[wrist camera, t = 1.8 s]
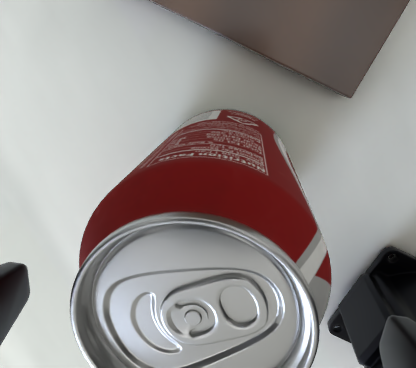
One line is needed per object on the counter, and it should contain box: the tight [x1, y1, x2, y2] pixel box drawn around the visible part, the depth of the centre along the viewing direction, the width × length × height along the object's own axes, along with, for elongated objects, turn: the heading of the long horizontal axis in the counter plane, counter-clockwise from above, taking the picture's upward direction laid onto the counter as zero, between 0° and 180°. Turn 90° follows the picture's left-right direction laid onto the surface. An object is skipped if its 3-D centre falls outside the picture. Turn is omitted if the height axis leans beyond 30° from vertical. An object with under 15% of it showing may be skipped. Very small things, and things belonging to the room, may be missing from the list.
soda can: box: [70, 109, 331, 368], centre depth 13 cm, size 7×7×12 cm
